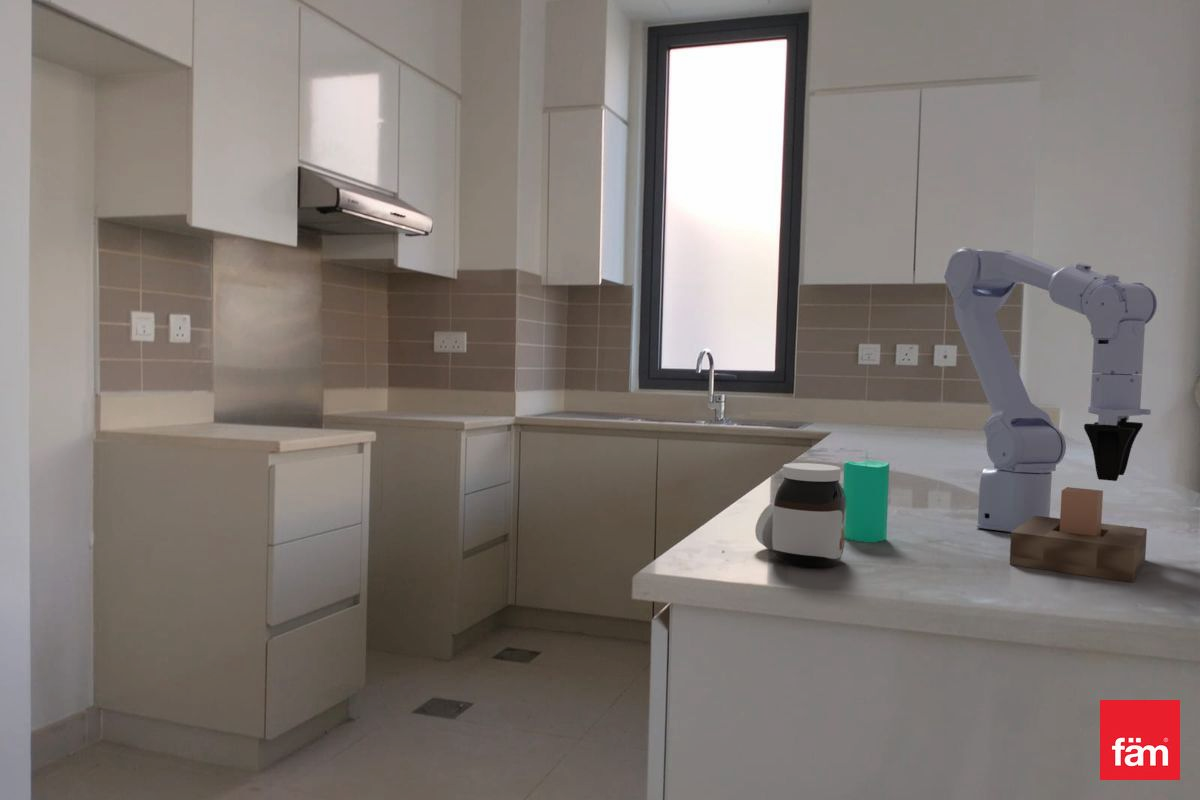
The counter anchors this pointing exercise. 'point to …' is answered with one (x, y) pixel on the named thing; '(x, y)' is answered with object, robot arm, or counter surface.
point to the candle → (866, 500)
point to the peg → (1081, 511)
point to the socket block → (1079, 549)
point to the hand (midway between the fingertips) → (1111, 477)
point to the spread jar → (806, 517)
